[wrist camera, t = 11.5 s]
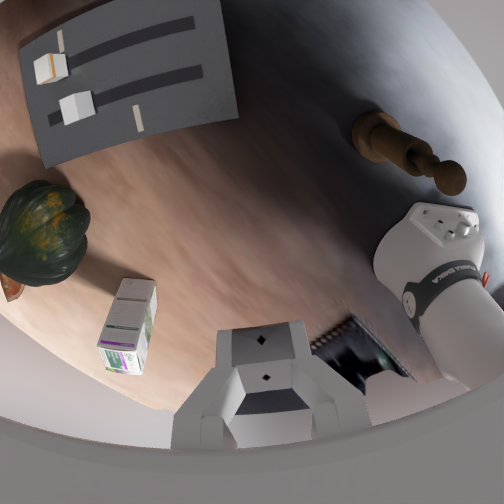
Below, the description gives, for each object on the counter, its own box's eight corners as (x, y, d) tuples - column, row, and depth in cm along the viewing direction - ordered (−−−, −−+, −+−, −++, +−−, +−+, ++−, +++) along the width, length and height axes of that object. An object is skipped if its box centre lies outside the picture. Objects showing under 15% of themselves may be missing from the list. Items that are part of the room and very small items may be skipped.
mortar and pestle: (395, 156, 36) (479, 215, 21) (353, 160, 36) (426, 225, 21) (393, 109, 32) (488, 145, 17) (349, 111, 32) (432, 146, 17)
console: (216, -19, 23) (215, -28, 20) (238, 114, 32) (238, 118, 30) (31, 49, 23) (18, 49, 21) (56, 162, 33) (44, 170, 31)
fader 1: (65, 53, 23) (47, 53, 19) (68, 75, 24) (50, 77, 21) (51, 60, 23) (33, 61, 20) (55, 82, 25) (37, 85, 21)
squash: (118, 263, 36) (22, 257, 22) (61, 298, 40) (-17, 302, 26) (98, 174, 39) (18, 146, 25) (47, 221, 43) (-23, 208, 29)
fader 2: (90, 90, 26) (73, 93, 23) (95, 113, 28) (79, 119, 24) (76, 96, 26) (59, 100, 23) (81, 119, 28) (64, 125, 24)
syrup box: (122, 276, 44) (93, 346, 32) (156, 279, 45) (135, 352, 33) (127, 302, 47) (104, 371, 35) (159, 306, 48) (143, 377, 36)
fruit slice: (29, 292, 46) (18, 308, 41) (5, 280, 44) (-6, 295, 40) (27, 259, 42) (14, 276, 37) (2, 247, 40) (-12, 263, 36)
